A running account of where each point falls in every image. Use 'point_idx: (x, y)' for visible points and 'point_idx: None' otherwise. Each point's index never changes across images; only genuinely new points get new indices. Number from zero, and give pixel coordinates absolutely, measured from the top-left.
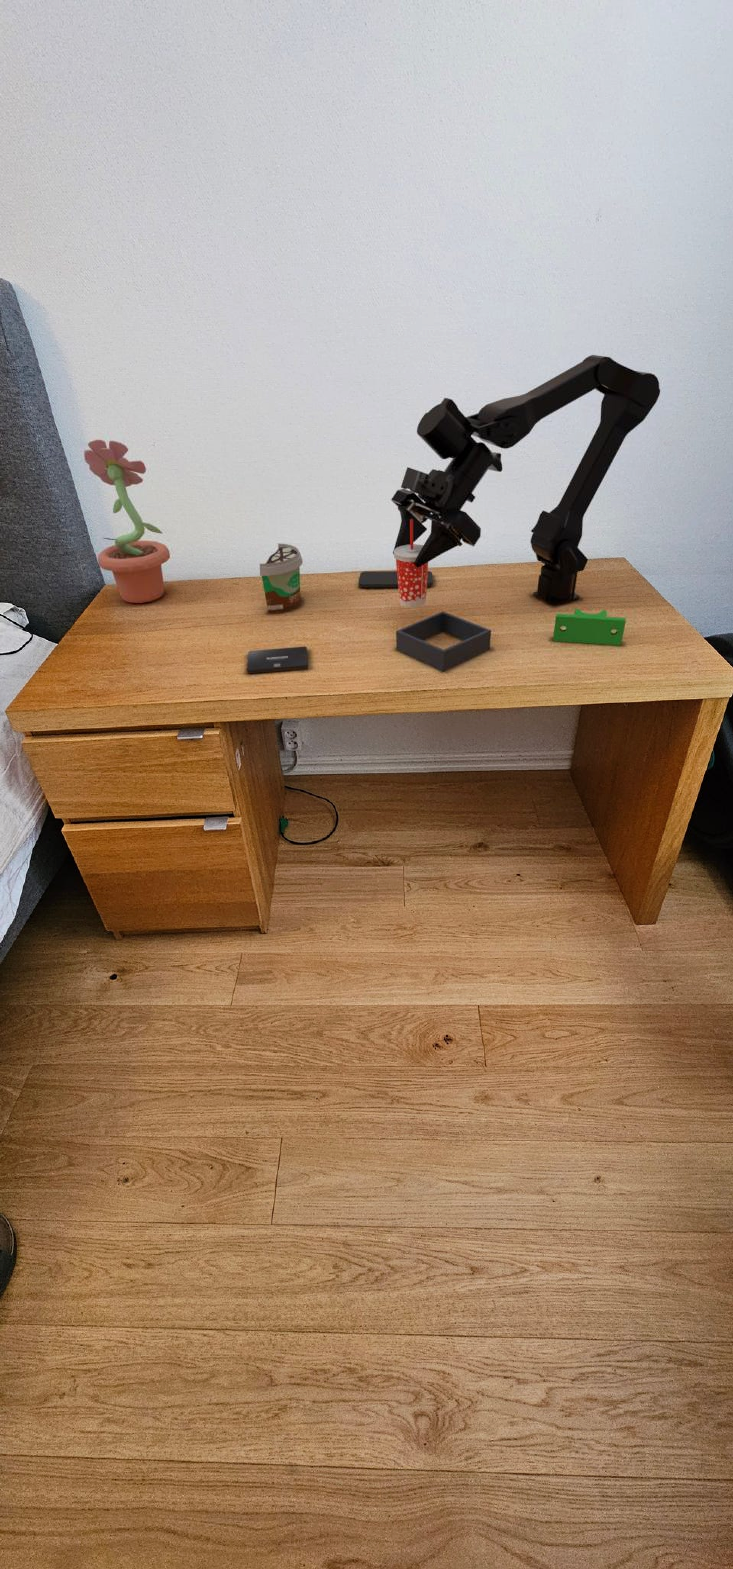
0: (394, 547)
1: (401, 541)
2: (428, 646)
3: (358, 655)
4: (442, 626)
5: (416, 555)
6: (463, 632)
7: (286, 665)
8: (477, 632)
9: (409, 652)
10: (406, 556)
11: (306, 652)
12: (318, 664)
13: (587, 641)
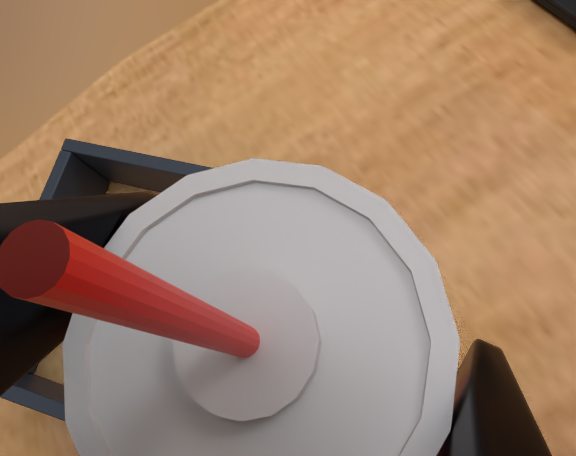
0: (512, 378)
1: (460, 450)
2: (132, 152)
3: (402, 114)
4: None
5: (153, 257)
6: None
7: None
8: (32, 386)
9: None
10: (219, 177)
11: (557, 2)
12: (477, 3)
13: None
